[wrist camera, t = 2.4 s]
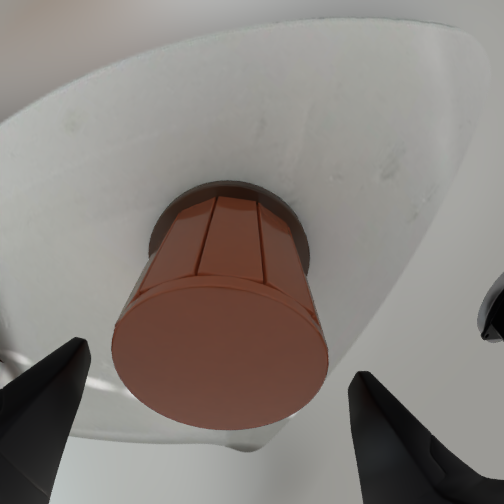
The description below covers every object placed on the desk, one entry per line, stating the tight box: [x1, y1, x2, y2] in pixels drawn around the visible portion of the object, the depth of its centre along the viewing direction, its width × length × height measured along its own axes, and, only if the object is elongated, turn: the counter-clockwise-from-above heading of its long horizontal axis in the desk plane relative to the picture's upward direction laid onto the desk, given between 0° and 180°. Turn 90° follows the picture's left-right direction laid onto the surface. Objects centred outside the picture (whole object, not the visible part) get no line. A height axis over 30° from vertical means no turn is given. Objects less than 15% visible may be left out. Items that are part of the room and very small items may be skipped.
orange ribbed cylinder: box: [111, 196, 329, 430], centre depth 12 cm, size 7×7×7 cm
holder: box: [148, 180, 310, 277], centre depth 13 cm, size 8×8×6 cm
